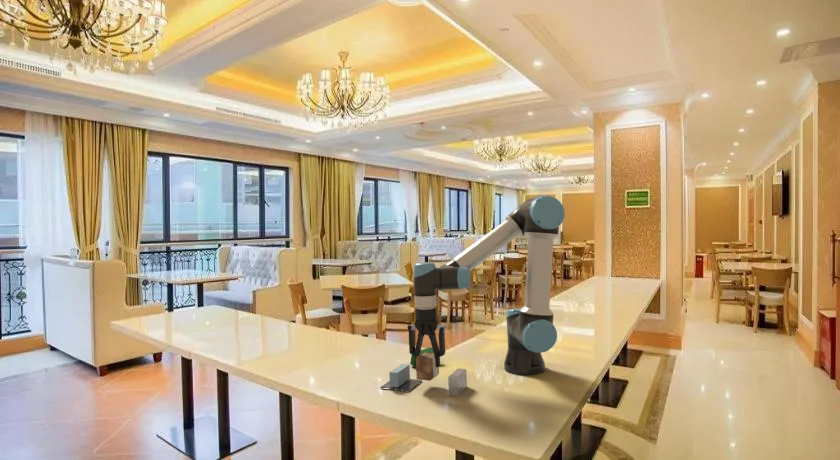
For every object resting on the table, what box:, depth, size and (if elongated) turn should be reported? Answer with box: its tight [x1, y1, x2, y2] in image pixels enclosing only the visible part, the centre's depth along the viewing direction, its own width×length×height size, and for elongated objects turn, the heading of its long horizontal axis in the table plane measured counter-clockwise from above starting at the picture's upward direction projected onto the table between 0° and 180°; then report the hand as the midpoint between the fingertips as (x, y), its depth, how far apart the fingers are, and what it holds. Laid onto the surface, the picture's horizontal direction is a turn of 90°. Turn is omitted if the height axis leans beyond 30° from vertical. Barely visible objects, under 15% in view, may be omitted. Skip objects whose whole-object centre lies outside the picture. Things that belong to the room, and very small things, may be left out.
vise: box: [379, 367, 468, 397], centre depth 155 cm, size 28×11×6 cm, turn 67°
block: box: [415, 353, 440, 382], centre depth 155 cm, size 5×8×7 cm, turn 156°
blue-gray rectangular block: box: [388, 363, 411, 388], centre depth 159 cm, size 3×10×5 cm, turn 157°
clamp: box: [409, 346, 434, 368], centre depth 182 cm, size 12×6×9 cm, turn 132°
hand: (427, 375), depth 155 cm, fingers closed on block, 5 cm apart
